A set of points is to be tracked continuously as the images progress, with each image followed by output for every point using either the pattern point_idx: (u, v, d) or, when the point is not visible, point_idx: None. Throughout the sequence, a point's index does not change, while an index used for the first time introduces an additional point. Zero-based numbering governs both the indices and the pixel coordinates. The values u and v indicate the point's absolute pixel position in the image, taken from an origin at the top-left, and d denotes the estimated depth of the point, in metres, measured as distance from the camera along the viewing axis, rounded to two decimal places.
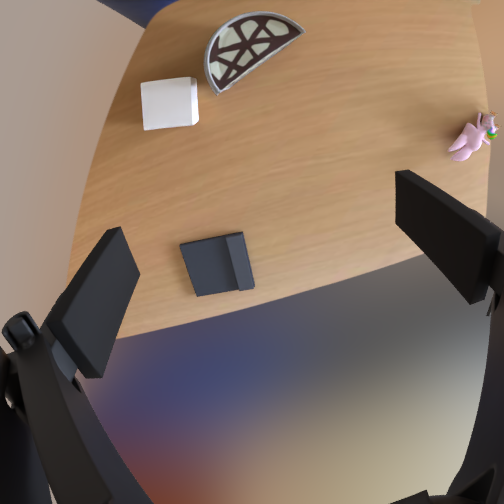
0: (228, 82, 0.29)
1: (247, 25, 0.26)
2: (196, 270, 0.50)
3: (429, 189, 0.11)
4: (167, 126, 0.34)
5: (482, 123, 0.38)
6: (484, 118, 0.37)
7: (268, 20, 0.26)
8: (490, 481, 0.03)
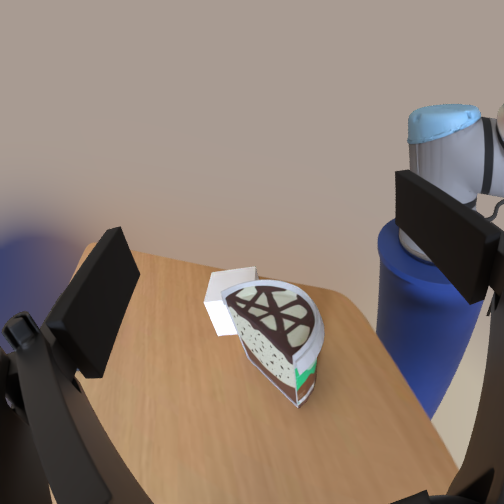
0: (232, 303, 0.30)
1: (299, 309, 0.28)
2: None
3: (429, 189, 0.11)
4: (209, 286, 0.39)
5: None
6: None
7: (308, 326, 0.26)
8: (490, 481, 0.03)
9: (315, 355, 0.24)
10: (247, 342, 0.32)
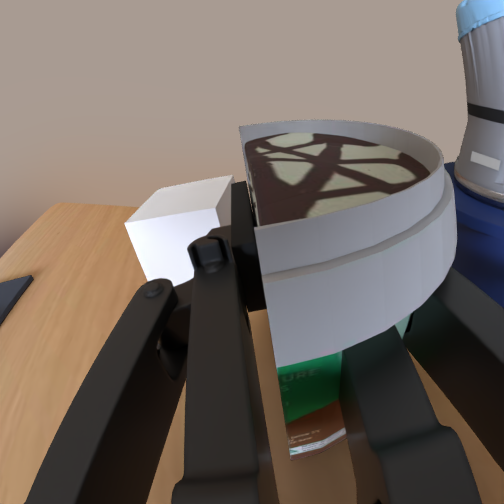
0: (248, 148, 0.13)
1: (394, 171, 0.08)
2: (0, 288, 0.27)
3: None
4: (145, 203, 0.21)
5: None
6: None
7: None
8: None
9: (393, 311, 0.05)
10: None
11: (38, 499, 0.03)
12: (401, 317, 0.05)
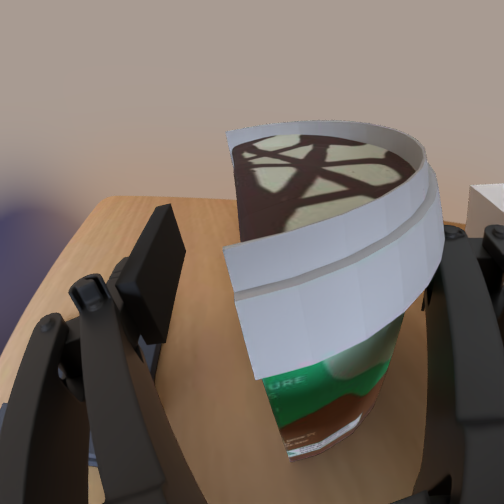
0: (235, 153, 0.13)
1: (379, 172, 0.08)
2: None
3: None
4: (499, 207, 0.11)
5: None
6: None
7: None
8: None
9: (373, 320, 0.05)
10: None
11: None
12: (382, 325, 0.05)
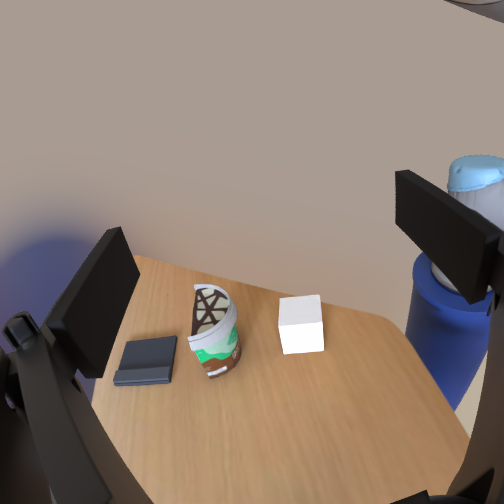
0: (196, 294, 0.46)
1: (221, 314, 0.41)
2: (149, 344, 0.50)
3: (429, 189, 0.11)
4: (280, 311, 0.44)
5: None
6: None
7: None
8: (490, 481, 0.03)
9: (206, 345, 0.38)
10: None
11: None
12: (209, 345, 0.38)
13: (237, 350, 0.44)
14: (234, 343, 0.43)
